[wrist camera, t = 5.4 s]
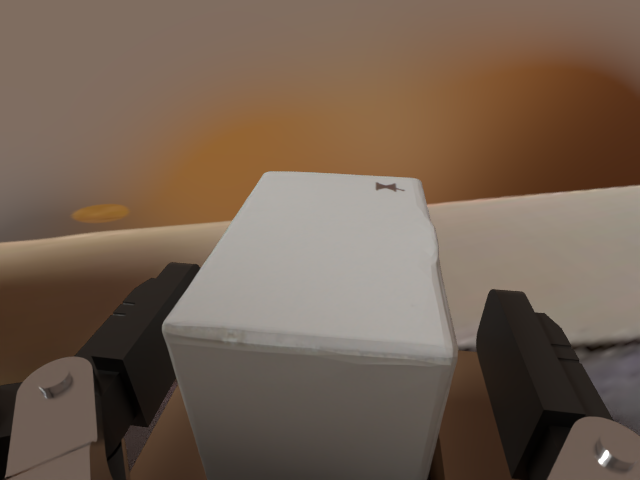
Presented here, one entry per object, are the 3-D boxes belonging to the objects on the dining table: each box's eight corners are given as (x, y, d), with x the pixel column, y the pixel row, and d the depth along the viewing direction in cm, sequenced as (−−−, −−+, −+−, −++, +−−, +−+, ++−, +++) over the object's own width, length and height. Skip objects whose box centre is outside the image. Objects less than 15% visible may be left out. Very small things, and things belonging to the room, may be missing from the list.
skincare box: (285, 434, 16) (263, 166, 10) (386, 447, 16) (427, 173, 10) (241, 628, 11) (146, 323, 5) (388, 657, 11) (478, 355, 5)
